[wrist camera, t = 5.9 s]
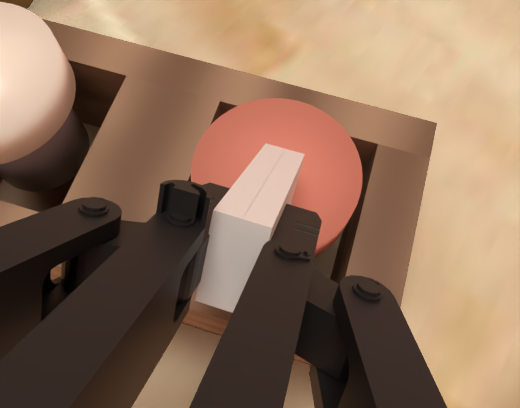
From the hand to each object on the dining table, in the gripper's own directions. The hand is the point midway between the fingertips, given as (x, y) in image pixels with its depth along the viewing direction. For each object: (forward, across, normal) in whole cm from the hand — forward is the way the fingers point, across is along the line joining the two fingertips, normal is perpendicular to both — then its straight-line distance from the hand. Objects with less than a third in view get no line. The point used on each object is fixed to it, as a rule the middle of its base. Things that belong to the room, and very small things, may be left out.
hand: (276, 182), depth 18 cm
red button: (+7, 0, -5) cm, 8 cm away
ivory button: (+6, -13, -4) cm, 15 cm away
